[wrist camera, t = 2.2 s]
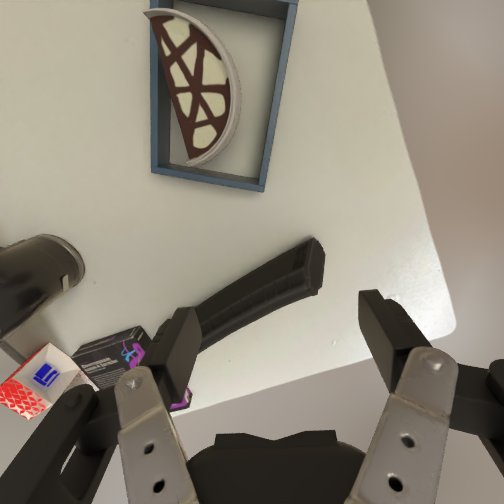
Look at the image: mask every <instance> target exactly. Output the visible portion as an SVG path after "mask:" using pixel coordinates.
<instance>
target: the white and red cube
mask: <svg viewBox="0 0 504 504" xmlns="http://www.w3.org/2000/svg"><path fill="white" fill-rule="evenodd" d="M80 370H81V369H80V368H79V367H78V366H77V365H76V364H75V363H74V361H73V360H72V359H71V358H70V357H69V356H67V355H66V354H65V353H63V352H62V351H61V350H59V349H58V348H57V347H55V346H54V345H53V344H51V343H50V342H49V343H48V344H47V345H45V346H44V347H43V348H41V349H40V350H39V351H38V352H36V353H35V354H34V355H32V356H31V357H30V358H29V359H28V360H27V361H25V362H24V363H23V364H22V365H21V366H20V367H19V368H18V369H17V370H16V371H15V372H14V373H13V374H12V375H11V376H10V377H8V379H6V380H5V381H4V382H3V383H2V384H1V385H0V403H2V404H4V405H5V406H7V407H8V408H10V409H12V410H13V411H15V412H17V413H18V414H20V415H22V416H23V417H25V418H26V419H28V420H30V419H32V418H33V417H35V416H36V415H38V414H39V413H41V412H42V411H44V410H46V409H47V408H49V407H50V406H52V405H53V404H54V403H55V402H56V401H57V399H58V398H59V397H60V395H61V394H62V393H63V392H64V390H65V389H66V388H67V387H68V385H69V384H70V383H71V382H72V380H73V379H74V378H75V376H76V375H77V374H78V373H79V371H80Z"/></svg>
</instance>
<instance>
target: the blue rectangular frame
mask: <svg viewBox="0 0 504 504" xmlns="http://www.w3.org/2000/svg"><path fill="white" fill-rule="evenodd" d="M182 1H187V2H192V3H198V4H203V5H209V6H214V7H220V8H225V9H230V10H236V11H241V12H247V13H252V14H258V15H263V16H269V17H274V18H279V19H285V20H286V24H285V30H284V36H283V42H282V48H281V54H280V60H279V65H278V71H277V77H276V83H275V89H274V95H273V101H272V107H271V113H270V118H269V124H268V130H267V136H266V142H265V148H264V154H263V160H262V166H261V172H260V177H259V179H255V178H249V177H243V176H238V175H232V174H226V173H221V172H215V171H209V170H204V169H198V168H192V167H187V166H181V165H176V164H170V163H169V157H170V113H171V96H170V92H169V88H168V84H167V79H166V75H165V71H164V67H163V64H162V60H161V56H160V52H159V49H158V45H157V41H156V38H155V35H154V32H153V30H152V25H151V21H150V98H151V173H155V174H161V175H166V176H172V177H178V178H183V179H189V180H195V181H200V182H206V183H212V184H217V185H223V186H229V187H234V188H240V189H246V190H251V191H257V192H264V188H265V183H266V177H267V172H268V166H269V161H270V155H271V150H272V144H273V139H274V133H275V128H276V122H277V116H278V111H279V105H280V100H281V94H282V89H283V83H284V78H285V72H286V67H287V61H288V56H289V50H290V45H291V39H292V34H293V28H294V23H295V17H296V11H297V6H298V0H182ZM153 8H168V9H172V10H173V0H150V9H153Z"/></svg>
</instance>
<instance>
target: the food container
mask: <svg viewBox="0 0 504 504" xmlns="http://www.w3.org/2000/svg"><path fill="white" fill-rule="evenodd" d="M143 13H144V14H145V15H146V16H147V18H148V19H149V20H150V21H151V25H152V30H153V32H154V35H155V38H156V41H157V45H158V49H159V52H160V56H161V60H162V64H163V67H164V71H165V75H166V79H167V84H168V88H169V92H170V96H171V99H172V102H173V105H174V108H175V111H176V115H177V118H178V121H179V124H180V128H181V131H182V135H183V138H184V142H185V145H186V149H187V152H188V156H189V159H190V160H189V161H188V162H186V164H187V163H188V164H189V166H192V167H195V166H198V165H201V164H204V163H206V162H208V161H210V160H211V159H213V158H214V157H215V156H217V155H218V154H219V153H220V152H221V151H222V150H223V149H224V148H225V147H226V145H227V144H228V142H229V141H230V139H231V138H232V136H233V134H234V131H235V129H236V126H237V123H238V120H239V115H240V109H241V89H240V81H239V77H238V73H237V69H236V67H235V64H234V62H233V59H232V57H231V55H230V53H229V52H228V50H227V48H226V47H225V45H224V44H223V42H222V41H221V40H220V39H219V37H218V36H217V35H216V34H215V33H214V32H213V31H212V30H211V29H210V28H209V27H208V26H206V25H205V24H203V23H202V22H200V21H199V20H197V19H196V18H193V17H191V16H189V15H187V14H185V13H182V12H180V11H177V10H172V9H168V8H153V9H147V10H143Z"/></svg>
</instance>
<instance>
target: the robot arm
mask: <svg viewBox="0 0 504 504" xmlns="http://www.w3.org/2000/svg"><path fill="white" fill-rule="evenodd" d="M83 275H84V265H83V262H82V259H81V257H80V255H79V254H78V253H77V251H76V250H75V249H74V248H73V247H72V246H71V245H70V244H68V243H67V242H65V241H64V240H62V239H60V238H58V237H55V236H51V235H38V236H35V237H32V238H30V239H28V240H22V241H19V242H17V243H15V244H13V245H10V246H8V247H6V248H3V247H0V343H1V342H3V341H4V340H5V339H7V338H8V337H9V336H10V335H12V334H13V333H14V332H15V331H17V330H18V329H19V328H21V327H22V326H23V325H24V324H26V323H27V322H28V321H29V320H31V319H32V318H33V317H35V316H36V315H37V314H38V313H40V312H41V311H42V310H43V309H45V308H46V307H47V306H49V305H50V304H51V303H52V302H54V301H55V300H56V299H57V298H59V297H60V296H61V295H63V294H64V293H65V292H66V291H68V290H69V289H70V288H72V287H74V286H75V285H76V284H78V283H79V282H80V281H81V279H82V278H83ZM358 320H359V326H360V329H361V332H362V334H363V336H364V338H365V340H366V343H367V345H368V347H369V349H370V351H371V354H372V356H373V358H374V360H375V362H376V364H377V366H378V369H379V371H380V373H381V375H382V377H383V379H384V382H385V384H386V386H387V388H388V391H389V393H390V396H389V398H388V400H387V403H386V405H385V408H384V411H383V413H382V416H381V418H380V420H379V423H378V426H377V428H376V431H375V433H374V436H373V438H372V441H371V443H370V446H369V448H368V451H367V453H366V454H365V453H364V452H362V451H361V450H359V449H357V448H356V447H354V446H352V445H349V444H346V443H344V442H340V441H337V437H336V432H335V430H324V431H323V430H322V431H304V432H300V433H297V434H294V435H291V436H288V437H284V438H281V439H278V440H269V439H265V438H261V437H257V436H253V435H250V434H246V433H235V434H216V438H215V443H214V445H212V446H210V447H207V448H205V449H203V450H202V451H200V452H199V453H198V454H196V455H195V456H194V457H192V458H191V459H190V460H188V458H187V456H186V453H185V451H184V448H183V445H182V443H181V441H180V438H179V435H178V433H177V430H176V428H175V425H174V422H173V420H172V417H171V415H170V412H169V411H170V408H171V405H172V404H182V401H183V398H184V395H185V392H186V388H187V385H188V382H189V379H190V376H191V373H192V370H193V367H194V364H195V361H196V358H197V354H198V351H199V348H200V345H201V342H202V332H201V328H200V325H199V321H198V318H197V315H196V312H195V309H194V307H182V308H177V310H176V311H175V313H174V315H173V317H172V319H167V320H166V321H165V322H164V323H163V324H162V325H161V326H160V327H159V329H158V331H157V333H156V336H154V338H153V340H152V343H150V345H149V347H148V349H147V351H146V352H145V354H144V356H143V358H142V359H141V361H140V363H139V365H138V367H135V368H132V369H130V370H128V371H127V372H125V373H124V374H123V375H122V376H121V377H120V378H119V379H118V381H117V382H116V384H115V385H114V386H111V387H108V388H105V389H102V390H99V391H96V392H95V391H94V389H93V387H92V386H91V385H89V384H82V385H78V386H76V387H74V388H72V389H70V390H68V391H67V392H66V393H64V394H63V395H62V396H61V397H60V398H59V399H58V400H57V401H56V402H55V404H54V405H53V406H52V408H51V409H50V411H49V412H48V414H47V415H46V416H45V417H44V419H43V420H42V422H41V423H40V424H39V426H38V427H37V428H36V430H35V431H34V432H33V434H32V435H31V436H30V438H29V439H28V441H27V442H26V443H25V445H24V446H23V447H22V449H21V450H20V451H19V453H18V454H17V455H16V457H15V458H14V460H13V461H12V462H11V464H10V465H9V466H8V468H7V469H6V470H5V472H4V473H3V474H2V476H1V477H0V504H91V503H92V501H93V498H94V496H95V494H96V492H97V489H98V487H99V485H100V482H101V480H102V478H103V476H104V473H105V471H106V469H107V466H108V464H109V462H110V459H111V457H112V455H113V453H114V450H115V448H116V446H117V444H119V448H120V454H121V460H122V466H123V473H124V479H125V484H126V491H127V497H128V503H129V504H435V500H436V495H437V489H438V484H439V478H440V473H441V467H442V462H443V457H444V451H445V446H446V440H447V435H448V429H449V428H451V429H455V430H459V431H462V432H466V433H470V434H474V435H478V436H479V438H480V440H481V441H482V443H483V445H484V446H485V448H486V449H487V451H488V452H489V454H490V456H491V457H492V459H493V461H494V462H495V464H496V465H497V467H498V469H499V470H500V472H501V473H502V475H503V477H504V359H499V360H495V361H493V362H492V363H491V364H490V366H489V369H484V368H478V367H472V366H467V365H462V364H459V363H456V362H455V360H454V359H453V358H452V357H450V356H449V355H448V354H447V353H445V352H443V351H441V350H439V349H436V348H433V347H432V345H431V344H430V343H429V341H428V340H427V339H426V338H425V336H424V335H423V334H422V332H421V331H420V330H419V328H418V327H417V326H416V324H415V323H414V322H413V320H412V319H411V318H410V316H409V315H408V314H407V312H406V311H405V310H404V308H403V307H402V306H401V305H400V304H398V303H397V302H395V301H394V300H392V299H385V300H384V298H383V297H382V295H381V294H380V292H379V291H378V290H377V289H373V290H362V291H359V296H358ZM74 445H75V446H76V449H75V450H74V452H73V454H72V456H71V457H70V459H69V461H68V463H67V465H66V466H65V468H64V470H63V472H62V473H61V469H62V466H63V464H64V462H65V461H66V459H67V457H68V455H69V454H70V452H71V450H72V448H73V447H74ZM60 473H61V475H60Z"/></svg>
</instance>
